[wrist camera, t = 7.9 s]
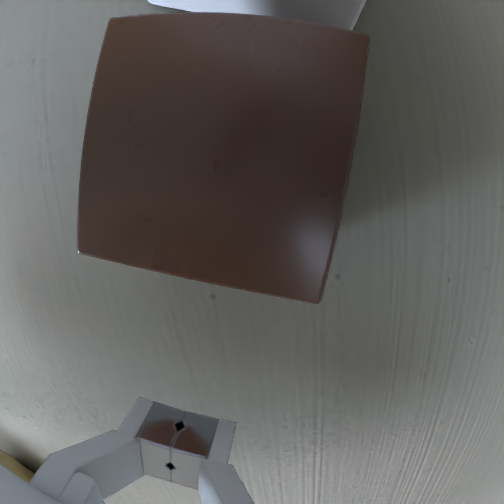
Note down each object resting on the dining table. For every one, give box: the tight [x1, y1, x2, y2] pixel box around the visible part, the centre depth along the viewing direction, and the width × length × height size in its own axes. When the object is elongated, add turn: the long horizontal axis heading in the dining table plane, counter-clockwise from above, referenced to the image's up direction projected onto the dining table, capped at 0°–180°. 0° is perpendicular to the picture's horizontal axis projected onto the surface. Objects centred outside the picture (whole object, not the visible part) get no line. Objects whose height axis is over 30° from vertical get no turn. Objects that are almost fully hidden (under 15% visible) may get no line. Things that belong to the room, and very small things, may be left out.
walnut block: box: [77, 12, 370, 304], centre depth 8 cm, size 5×5×5 cm
